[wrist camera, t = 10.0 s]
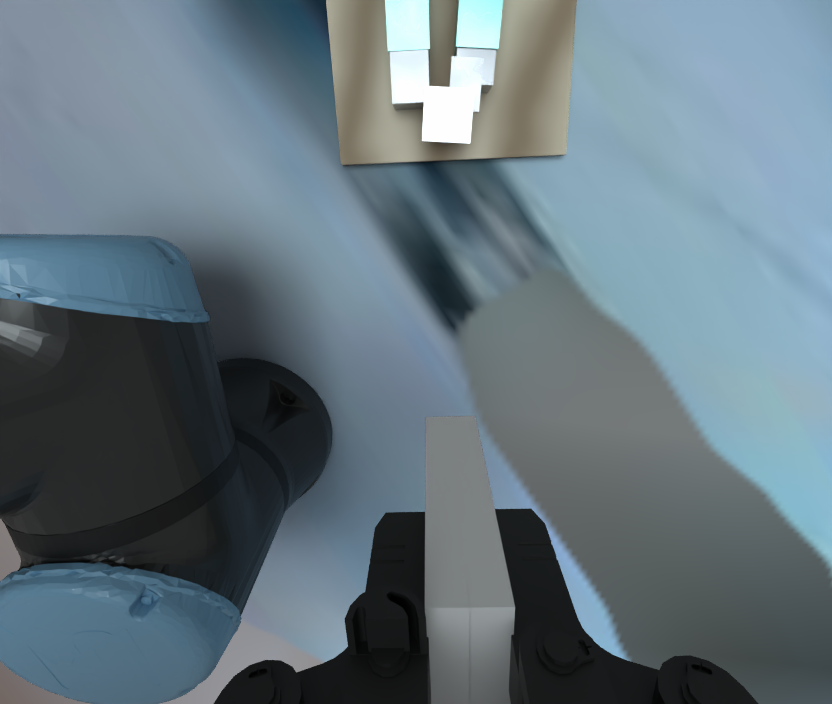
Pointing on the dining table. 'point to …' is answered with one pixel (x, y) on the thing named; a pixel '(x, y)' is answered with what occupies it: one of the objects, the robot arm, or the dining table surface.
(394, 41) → the teal-banded grey bar
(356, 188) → the dining table surface
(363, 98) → the board
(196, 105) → the dining table surface
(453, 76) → the tongs arm
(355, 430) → the dining table surface
